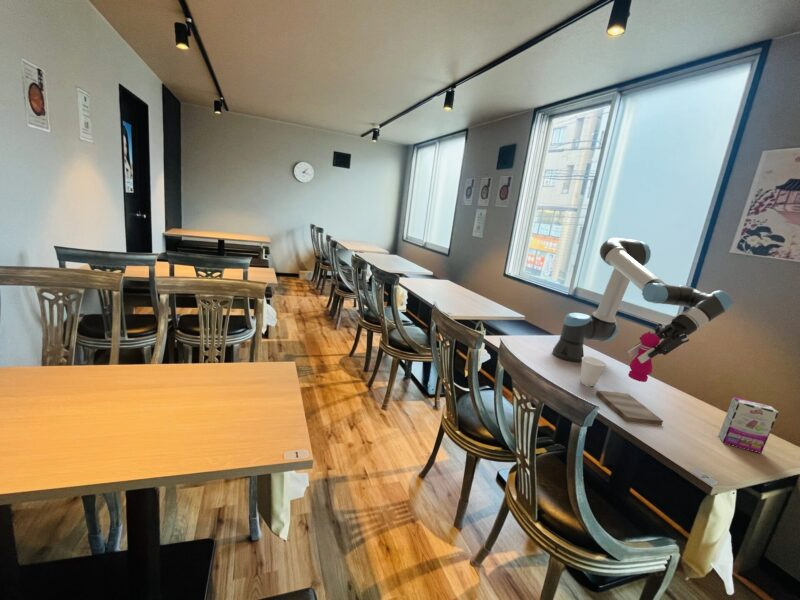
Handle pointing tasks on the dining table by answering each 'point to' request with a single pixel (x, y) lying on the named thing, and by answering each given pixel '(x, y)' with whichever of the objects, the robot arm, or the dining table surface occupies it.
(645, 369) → the pepper mill
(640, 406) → the serving board
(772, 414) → the candy bar box
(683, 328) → the robot arm
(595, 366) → the cup
